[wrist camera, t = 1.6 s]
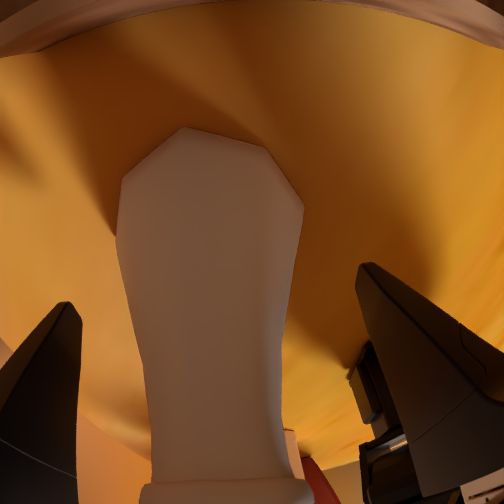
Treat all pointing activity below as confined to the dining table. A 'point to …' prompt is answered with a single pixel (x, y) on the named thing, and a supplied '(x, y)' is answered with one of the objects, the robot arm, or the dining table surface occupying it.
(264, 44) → the dining table surface
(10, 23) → the brown tray
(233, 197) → the flask
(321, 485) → the plant pot
